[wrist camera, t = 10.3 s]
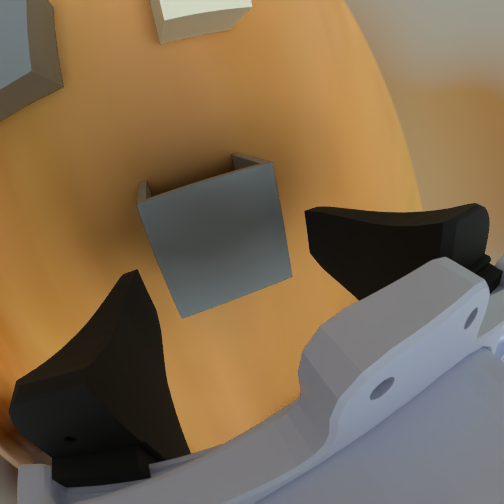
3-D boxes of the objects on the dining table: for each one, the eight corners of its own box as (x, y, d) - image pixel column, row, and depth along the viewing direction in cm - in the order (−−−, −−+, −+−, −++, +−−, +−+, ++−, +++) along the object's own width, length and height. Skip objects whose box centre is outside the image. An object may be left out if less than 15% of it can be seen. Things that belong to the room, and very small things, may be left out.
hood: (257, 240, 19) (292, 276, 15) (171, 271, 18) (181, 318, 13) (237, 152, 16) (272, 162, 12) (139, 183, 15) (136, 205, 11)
